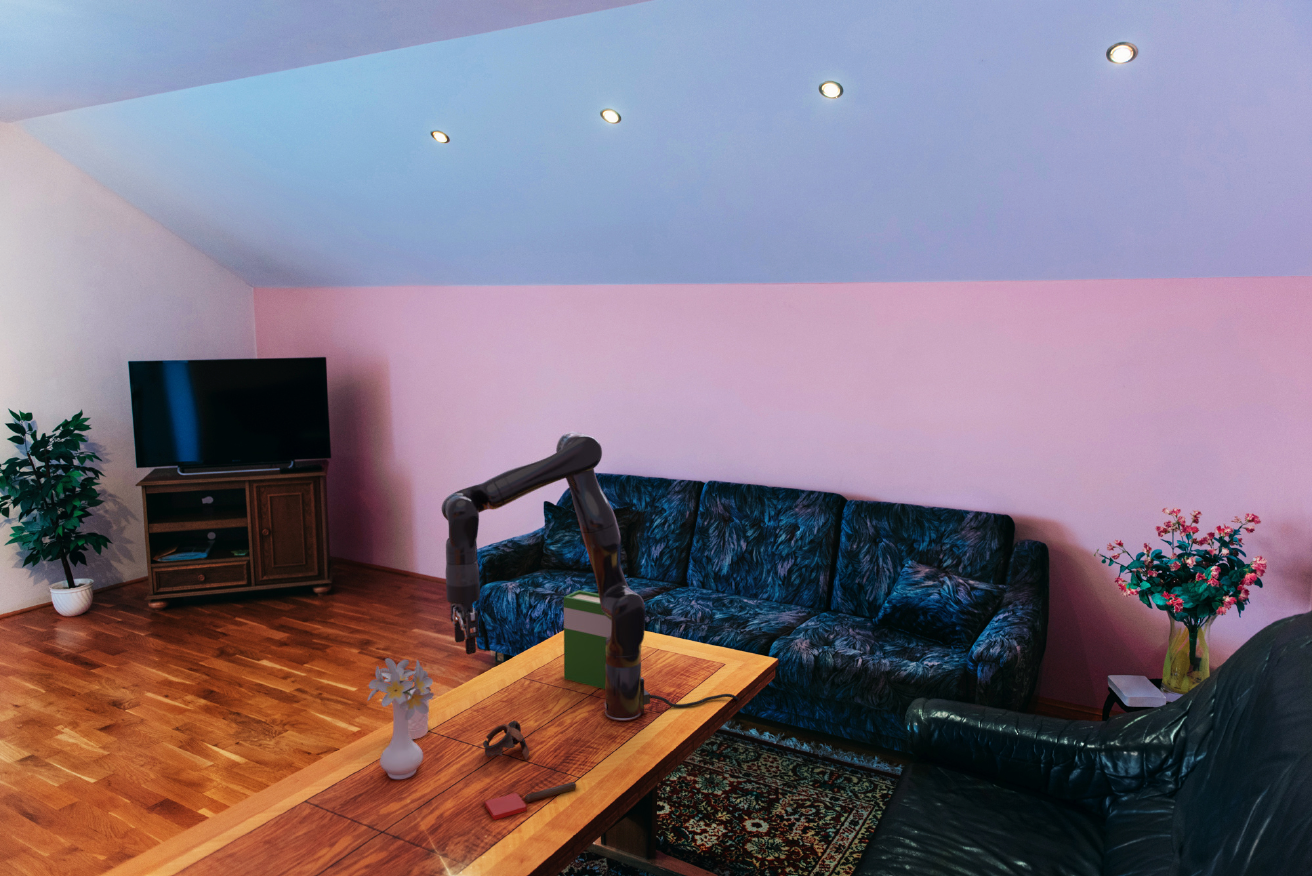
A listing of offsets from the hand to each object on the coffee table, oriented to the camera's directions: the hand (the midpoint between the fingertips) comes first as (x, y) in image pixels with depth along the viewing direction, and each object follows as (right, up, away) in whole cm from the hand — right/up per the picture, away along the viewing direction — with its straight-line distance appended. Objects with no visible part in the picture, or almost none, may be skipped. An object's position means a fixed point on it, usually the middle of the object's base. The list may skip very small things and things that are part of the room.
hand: (465, 647), depth 195 cm
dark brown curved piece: (+10, -25, 0) cm, 27 cm away
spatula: (+19, -27, -19) cm, 38 cm away
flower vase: (-11, -26, -9) cm, 30 cm away
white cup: (-15, -24, +10) cm, 30 cm away
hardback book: (+28, -20, +42) cm, 54 cm away
